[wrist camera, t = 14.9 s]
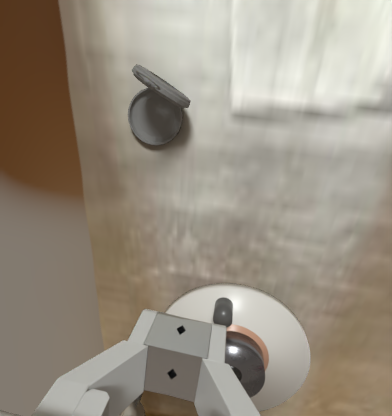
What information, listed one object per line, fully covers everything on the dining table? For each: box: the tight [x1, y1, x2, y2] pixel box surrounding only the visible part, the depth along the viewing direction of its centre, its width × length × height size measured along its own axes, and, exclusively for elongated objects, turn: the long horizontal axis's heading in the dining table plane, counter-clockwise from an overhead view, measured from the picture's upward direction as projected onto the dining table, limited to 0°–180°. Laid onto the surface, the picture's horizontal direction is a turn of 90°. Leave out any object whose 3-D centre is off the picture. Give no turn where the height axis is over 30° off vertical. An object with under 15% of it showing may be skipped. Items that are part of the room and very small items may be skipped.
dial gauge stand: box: [118, 390, 146, 416], centre depth 41 cm, size 6×5×12 cm
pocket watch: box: [128, 64, 190, 145], centre depth 30 cm, size 8×8×10 cm
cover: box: [225, 331, 265, 398], centre depth 39 cm, size 9×9×3 cm
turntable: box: [165, 283, 310, 412], centre depth 40 cm, size 22×22×6 cm
